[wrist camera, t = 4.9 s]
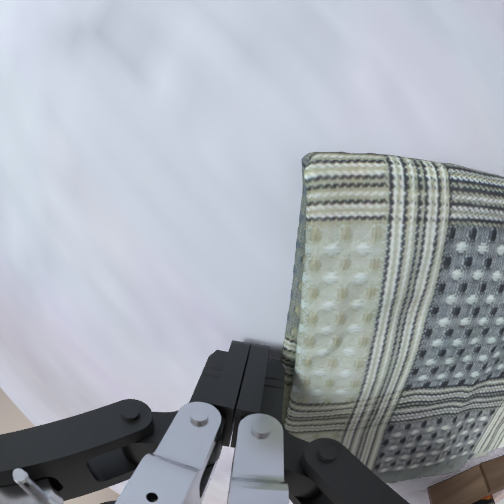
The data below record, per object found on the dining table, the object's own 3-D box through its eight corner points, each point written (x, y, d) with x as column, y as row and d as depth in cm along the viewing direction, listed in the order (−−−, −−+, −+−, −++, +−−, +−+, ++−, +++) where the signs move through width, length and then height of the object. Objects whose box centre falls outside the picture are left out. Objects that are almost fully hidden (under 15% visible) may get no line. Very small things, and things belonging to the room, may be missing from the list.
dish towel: (290, 142, 10) (290, 134, 7) (583, 207, 8) (617, 221, 4) (264, 464, 15) (258, 503, 12) (484, 441, 13) (496, 468, 10)
